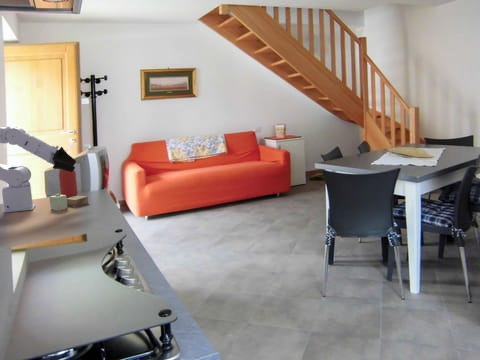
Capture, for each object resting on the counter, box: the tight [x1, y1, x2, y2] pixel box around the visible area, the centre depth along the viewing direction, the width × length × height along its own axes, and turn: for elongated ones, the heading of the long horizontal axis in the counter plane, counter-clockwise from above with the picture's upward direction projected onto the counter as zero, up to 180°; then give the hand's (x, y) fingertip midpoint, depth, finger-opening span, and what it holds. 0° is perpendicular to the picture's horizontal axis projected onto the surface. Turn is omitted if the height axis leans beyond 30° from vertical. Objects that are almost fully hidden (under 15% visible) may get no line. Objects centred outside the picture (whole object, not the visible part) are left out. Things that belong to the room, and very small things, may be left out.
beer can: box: [58, 169, 79, 198], centre depth 177 cm, size 7×7×12 cm
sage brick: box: [49, 193, 68, 211], centre depth 156 cm, size 4×4×6 cm
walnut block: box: [66, 195, 89, 208], centre depth 163 cm, size 6×6×3 cm
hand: (74, 166), depth 159 cm, fingers open, 7 cm apart
